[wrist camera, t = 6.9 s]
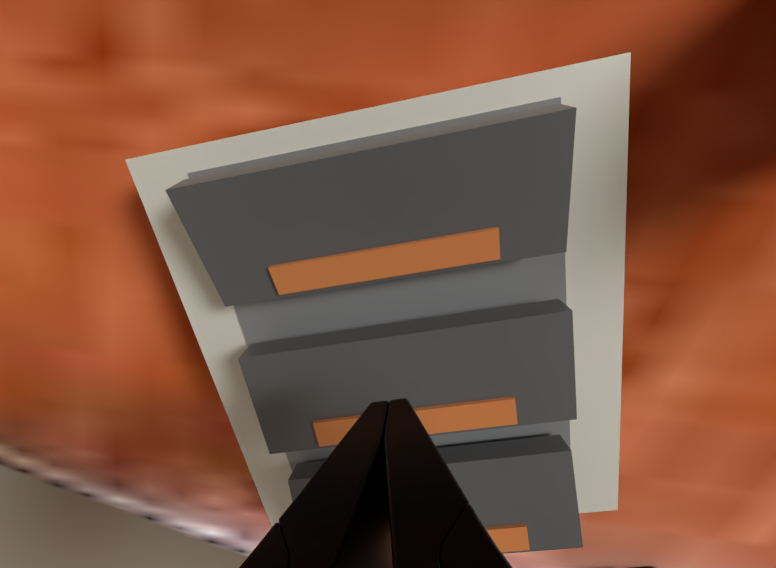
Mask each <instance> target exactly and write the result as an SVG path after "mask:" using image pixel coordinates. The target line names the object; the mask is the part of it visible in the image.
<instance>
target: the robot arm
mask: <svg viewBox="0 0 776 568" xmlns="http://www.w3.org/2000/svg"><path fill="white" fill-rule="evenodd" d="M239 568H512V566H511V565H510V564H509V562H508V561H507V560H506V558H505V557H504V555H503V554H502V553H501V551H500V550H499V549H498V547H497V546H496V544H495V542H494V541H493V539H492V538H491V536H490V535H489V533H488V532H487V530H486V529H485V527H484V525H483V524H482V522H481V521H480V519H479V517H478V516H477V514H476V512H475V511H474V509H473V507H472V506H471V505H470V504H469V501H468V499H467V498H466V496H465V494H464V493H463V491H462V489H461V488H460V486H459V484H458V483H457V481H456V479H455V478H454V476H453V474H452V473H451V471H450V469H449V468H448V466H447V464H446V463H445V461H444V459H443V458H442V456H441V454H440V452H439V451H438V449H437V447H436V446H435V444H434V442H433V441H432V439H431V437H430V436H429V434H428V432H427V431H426V429H425V427H424V426H423V424H422V422H421V421H420V419H419V417H418V416H417V414H416V412H415V411H414V409H413V407H412V406H411V404H410V402H409V401H408V399H407V398H401V399H393V400H391V401H390V402H388V401H387V400H385V401H377V402H372V403H370V404H369V406H368V407H367V408H366V409H365V411H364V412H363V413H362V414H361V416H360V417H359V418H358V419H357V421H356V422H355V423H354V425H353V426H352V427H351V428H350V430H349V431H348V432H347V433H346V435H345V436H344V437H343V438H342V440H341V441H340V442H339V444H338V445H337V446H336V447H335V449H334V450H333V451H332V452H331V454H330V455H329V456H328V457H327V459H326V460H325V461H324V463H323V464H322V465H321V466H320V468H319V469H318V470H317V471H316V473H315V474H314V475H313V476H312V478H311V479H310V480H309V481H308V483H307V484H306V485H305V487H304V488H303V489H302V490H301V492H300V493H299V494H298V495H297V497H296V498H295V499H294V500H293V502H292V503H291V504H290V506H289V507H288V508H287V509H286V511H285V512H284V513H283V514H282V516H281V517H280V518H279V523H278V522H277V523H275V524H274V526H273V527H272V528H271V529H270V531H269V532H268V533H267V534H266V536H265V537H264V538H263V539H262V541H261V542H260V543H259V544H258V546H257V547H256V548H255V549H254V550H253V552H252V553H251V554H250V555H249V556H248V558H247V559H246V560H245V561H244V563H243V564H242V565H241V566H240V567H239Z"/></svg>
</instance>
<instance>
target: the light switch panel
mask: <svg viewBox="0 0 776 568" xmlns="http://www.w3.org/2000/svg"><path fill="white" fill-rule="evenodd" d="M630 61H631V52H629V53H624V54H620V55H615V56H610V57H606V58H601V59H596V60H591V61H587V62H582V63H577V64H573V65H568V66H563V67H559V68H554V69H549V70H544V71H540V72H535V73H530V74H526V75H521V76H516V77H512V78H507V79H502V80H498V81H493V82H488V83H483V84H479V85H474V86H469V87H465V88H460V89H455V90H451V91H446V92H441V93H436V94H432V95H427V96H422V97H418V98H413V99H408V100H404V101H399V102H394V103H389V104H385V105H380V106H375V107H371V108H366V109H361V110H357V111H352V112H347V113H342V114H338V115H333V116H328V117H324V118H319V119H314V120H310V121H305V122H300V123H295V124H291V125H286V126H281V127H277V128H272V129H267V130H263V131H258V132H253V133H248V134H244V135H239V136H234V137H230V138H225V139H220V140H216V141H211V142H206V143H201V144H197V145H192V146H187V147H183V148H178V149H173V150H169V151H164V152H159V153H154V154H150V155H145V156H140V157H136V158H131V159H126V160H125V161H126V163H127V166H128V168H129V171H130V173H131V176H132V178H133V181H134V183H135V186H136V188H137V191H138V193H139V196H140V198H141V201H142V203H143V206H144V208H145V211H146V213H147V216H148V218H149V221H150V223H151V226H152V228H153V231H154V233H155V236H156V238H157V241H158V243H159V246H160V248H161V251H162V253H163V256H164V258H165V261H166V263H167V266H168V268H169V271H170V273H171V276H172V278H173V281H174V283H175V286H176V288H177V291H178V293H179V296H180V298H181V301H182V303H183V306H184V308H185V311H186V313H187V316H188V318H189V321H190V323H191V326H192V328H193V331H194V333H195V336H196V338H197V341H198V343H199V346H200V348H201V351H202V353H203V356H204V358H205V361H206V363H207V366H208V368H209V371H210V373H211V376H212V378H213V381H214V383H215V386H216V388H217V391H218V393H219V396H220V398H221V401H222V403H223V406H224V408H225V411H226V413H227V416H228V418H229V421H230V423H231V426H232V428H233V431H234V433H235V436H236V438H237V441H238V443H239V446H240V448H241V451H242V453H243V456H244V458H245V461H246V463H247V466H248V468H249V471H250V473H251V476H252V478H253V481H254V483H255V486H256V488H257V491H258V493H259V496H260V498H261V501H262V503H263V506H264V508H265V511H266V513H267V516H268V518H269V521H270V523H271V526H272V527H273V526H274V524H275V523H277V522H278V523H279V518H280V517H281V516H282V514H283V513H284V512H285V511H286V509H287V508H288V507H289V506H290V504H291V503H292V497H291V493H290V488H289V484H288V479H289V477H290V475H291V474H292V472H293V470H294V468H295V466H296V464H297V463H305V462H314V461H323V460H326V459H327V457H328V456H329V455H330V454H331V452H332V451H333V450H334V449H335V447H328V448H319V449H310V450H302V451H293V452H284V453H275V454H269V451H268V448H267V445H266V442H265V439H264V436H263V433H262V430H261V427H260V424H259V421H258V418H257V415H256V412H255V409H254V406H253V403H252V400H251V397H250V394H249V391H248V388H247V385H246V382H245V379H244V376H243V373H242V370H241V367H240V364H239V361H238V358H239V357H240V356H241V355H242V354H243V352H244V351H245V350H246V349H247V348H248V347H249V346H250V345H251V344H255V343H262V342H269V341H275V340H282V339H289V338H296V337H302V336H309V335H316V334H323V333H329V332H336V331H343V330H350V329H357V328H363V327H370V326H377V325H384V324H390V323H397V322H404V321H411V320H417V319H424V318H431V317H438V316H444V315H451V314H458V313H465V312H471V311H478V310H485V309H492V308H498V307H505V306H512V305H519V304H525V303H532V302H539V301H546V300H552V299H559V300H561V301H562V302H563V303H564V304H565V305H567V306H568V307H569V308H570V309H571V310H572V311H573V335H574V359H575V383H576V408H577V419H575V420H566V421H557V422H548V423H539V424H531V425H522V426H513V427H504V428H495V429H487V430H478V431H469V432H460V433H451V434H443V435H434V436H430V437H431V439H432V441H433V442H434V444H435V446H436V447H437V448H442V447H451V446H460V445H469V444H478V443H487V442H496V441H505V440H514V439H524V438H533V437H542V436H551V435H561V437H562V438H563V440H564V441H565V442H566V444H567V445H568V447H569V448H570V449H571V451H572V460H573V468H574V477H575V485H576V494H577V502H578V511H579V513H588V512H599V511H611V510H618V479H619V444H620V409H621V375H622V340H623V305H624V270H625V235H626V200H627V166H628V131H629V96H630ZM554 104H563V105H567V106H572V107H576V108H577V109H576V123H575V137H574V151H573V165H572V179H571V193H570V207H569V221H568V236H567V250H566V252H563V253H556V254H550V255H544V256H538V257H532V258H525V259H519V260H513V261H507V262H500V263H494V264H488V265H482V266H476V267H469V268H463V269H457V270H451V271H444V272H438V273H432V274H426V275H420V276H413V277H407V278H401V279H395V280H389V281H382V282H376V283H370V284H364V285H357V286H351V287H345V288H339V289H333V290H326V291H320V292H314V293H308V294H301V295H295V296H289V297H283V298H277V299H270V300H264V301H258V302H252V303H245V304H239V305H233V306H227V307H225V305H224V303H223V301H222V299H221V297H220V295H219V293H218V291H217V289H216V288H215V286H214V284H213V282H212V280H211V278H210V276H209V274H208V272H207V270H206V268H205V266H204V264H203V262H202V260H201V259H200V257H199V255H198V253H197V251H196V249H195V247H194V245H193V243H192V241H191V239H190V237H189V235H188V233H187V231H186V229H185V228H184V226H183V224H182V222H181V220H180V218H179V216H178V214H177V212H176V210H175V208H174V206H173V204H172V202H171V200H170V199H169V197H168V195H167V193H166V191H165V190H166V189H168V188H170V187H172V186H173V185H175V184H177V183H179V182H181V181H182V180H184V179H189V178H194V177H198V176H203V175H208V174H213V173H218V172H223V171H228V170H233V169H238V168H243V167H248V166H253V165H258V164H263V163H268V162H272V161H277V160H282V159H287V158H292V157H297V156H302V155H307V154H312V153H317V152H322V151H327V150H332V149H337V148H342V147H346V146H351V145H356V144H361V143H366V142H371V141H376V140H381V139H386V138H391V137H396V136H401V135H406V134H411V133H416V132H420V131H425V130H430V129H435V128H440V127H445V126H450V125H455V124H460V123H465V122H470V121H475V120H480V119H485V118H490V117H494V116H499V115H504V114H509V113H514V112H519V111H524V110H529V109H534V108H539V107H544V106H549V105H554Z"/></svg>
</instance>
